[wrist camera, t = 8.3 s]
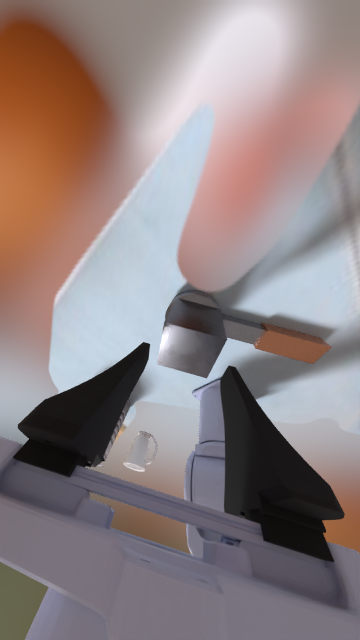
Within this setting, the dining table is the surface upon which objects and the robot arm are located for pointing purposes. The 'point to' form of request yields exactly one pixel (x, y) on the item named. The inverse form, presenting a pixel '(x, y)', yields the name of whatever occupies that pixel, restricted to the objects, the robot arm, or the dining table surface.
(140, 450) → the cup
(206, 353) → the dark grey cube
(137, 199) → the dining table surface
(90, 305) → the dining table surface
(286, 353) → the ratchet
